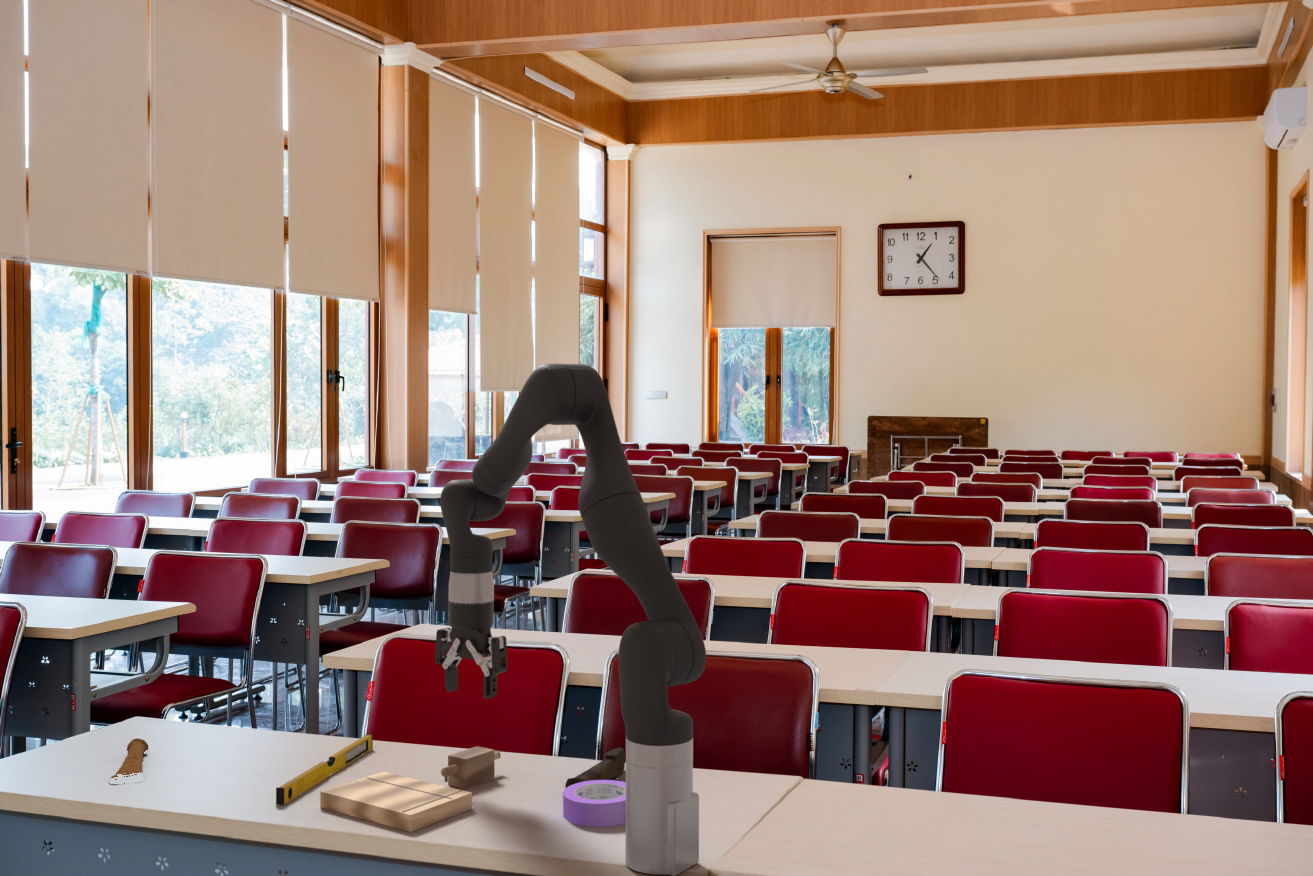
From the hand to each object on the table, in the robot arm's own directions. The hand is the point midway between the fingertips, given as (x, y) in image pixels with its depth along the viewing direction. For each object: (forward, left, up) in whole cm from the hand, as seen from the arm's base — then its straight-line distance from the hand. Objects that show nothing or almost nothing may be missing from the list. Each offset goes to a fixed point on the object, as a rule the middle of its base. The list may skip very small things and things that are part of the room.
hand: (470, 694), depth 198 cm
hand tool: (-18, -11, -15) cm, 26 cm away
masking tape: (-28, +1, -15) cm, 32 cm away
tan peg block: (0, 0, -15) cm, 15 cm away
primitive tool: (+53, +28, -16) cm, 62 cm away
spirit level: (+23, +11, -15) cm, 30 cm away
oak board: (0, +17, -15) cm, 22 cm away
